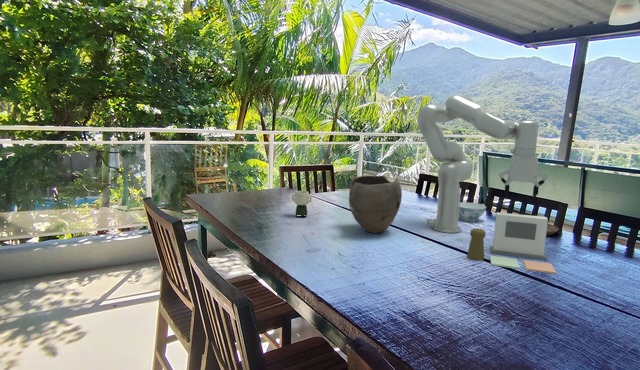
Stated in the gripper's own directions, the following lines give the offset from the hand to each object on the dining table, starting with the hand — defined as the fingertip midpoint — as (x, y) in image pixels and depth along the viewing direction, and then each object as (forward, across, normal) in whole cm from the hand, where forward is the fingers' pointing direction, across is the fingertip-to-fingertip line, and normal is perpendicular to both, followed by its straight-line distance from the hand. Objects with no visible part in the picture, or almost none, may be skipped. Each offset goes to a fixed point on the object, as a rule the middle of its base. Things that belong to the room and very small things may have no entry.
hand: (520, 195), depth 153 cm
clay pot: (+21, -59, -4) cm, 62 cm away
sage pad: (+21, -6, -22) cm, 31 cm away
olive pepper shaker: (+21, -16, -21) cm, 34 cm away
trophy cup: (+20, -99, +8) cm, 101 cm away
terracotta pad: (+22, +5, -22) cm, 31 cm away
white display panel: (+21, -1, -10) cm, 23 cm away
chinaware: (+21, -18, +40) cm, 49 cm away
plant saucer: (+22, +10, +31) cm, 39 cm away
